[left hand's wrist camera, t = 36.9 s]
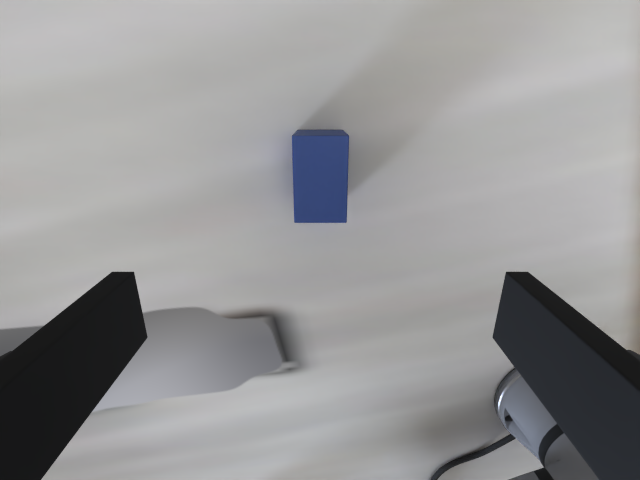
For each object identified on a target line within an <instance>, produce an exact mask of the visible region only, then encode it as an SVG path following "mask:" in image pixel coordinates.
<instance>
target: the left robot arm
mask: <svg viewBox="0 0 640 480" xmlns="http://www.w3.org/2000/svg"><path fill="white" fill-rule="evenodd" d="M146 339H147V333H146V328H145V323H144V318H143V314H142V309H141V304H140V299H139V294H138V289H137V284H136V280H135V275H134V272H111V273H110V274H109V275H108V276H106V277H105V278H104V279H103V280H101V281H100V282H99V283H98V284H96V285H95V286H94V287H93V288H91V289H90V290H89V291H87V292H86V293H85V294H84V295H82V296H81V297H80V298H79V299H77V300H76V301H75V302H74V303H72V304H71V305H70V306H69V307H67V308H66V309H65V310H64V311H62V312H61V313H60V314H59V315H57V316H56V317H55V318H53V319H52V320H51V321H50V322H48V323H47V324H46V325H45V326H43V327H42V328H41V329H40V330H38V331H37V332H36V333H35V334H33V335H32V336H31V337H30V338H28V339H27V340H26V341H25V342H23V343H22V344H21V345H20V346H18V347H17V348H16V349H14V350H13V351H10V352H8V353H6V354H4V355H2V356H0V480H41V479H42V478H43V476H44V475H45V474H46V472H47V471H48V470H49V468H50V467H51V466H52V464H53V463H54V462H55V460H56V459H57V458H58V456H59V455H60V454H61V452H62V451H63V450H64V448H65V447H66V445H67V444H68V443H69V441H70V440H71V439H72V437H73V436H74V435H75V433H76V432H77V431H78V429H79V428H80V427H81V425H82V424H83V423H84V421H85V420H86V419H87V417H88V416H89V415H90V413H91V412H92V411H93V409H94V408H95V407H96V405H97V404H98V403H99V401H100V400H101V399H102V397H103V396H104V395H105V393H106V392H107V391H108V389H109V388H110V387H111V385H112V384H113V383H114V381H115V380H116V379H117V377H118V376H119V375H120V373H121V372H122V371H123V369H124V368H125V367H126V365H127V364H128V363H129V361H130V360H131V359H132V357H133V356H134V355H135V353H136V352H137V351H138V349H139V348H140V347H141V345H142V344H143V343H144V341H145V340H146ZM493 339H494V340H495V341H496V343H497V344H498V345H499V347H500V348H501V349H502V351H503V352H504V353H505V355H506V356H507V357H508V359H509V360H510V361H511V363H512V364H513V365H514V367H515V369H514V370H512V371H511V372H510V373H509V374H508V375H507V376H506V377H505V378H504V379H503V381H502V382H501V383H500V385H499V387H498V389H497V391H496V395H495V401H494V404H495V410H496V413H497V415H498V417H499V418H500V420H501V422H502V424H503V425H504V427H505V428H506V429H507V430H508V431H509V432H510V433H511V434H510V435H508V436H506V437H505V438H503V439H501V440H499V441H497V442H496V443H494V444H492V445H490V446H488V447H486V448H484V449H482V450H480V451H478V452H475V453H472V454H470V455H467V456H464V457H461V458H458V459H455V460H453V461H451V462H449V463H447V464H445V465H444V466H442V467H441V468H440V469H439V470H438V471H437V472H436V473H435V474H434V475H433V477H432V479H431V480H437V479H438V478H439V477H440V476H441V475H442V474H443V473H444V472H445V471H447V470H448V469H450V468H452V467H454V466H456V465H458V464H461V463H464V462H467V461H470V460H473V459H476V458H478V457H481V456H483V455H485V454H488V453H490V452H492V451H494V450H495V449H497V448H499V447H501V446H503V445H505V444H507V443H508V442H510V441H512V440H514V439H515V438H516V439H517V440H518V441H520V442H521V443H522V444H523V445H524V446H525V447H526V448H527V449H528V450H529V451H531V452H532V453H533V454H534V455H535V456H536V457H537V458H538V459H539V460H540V462H541V463H542V465H543V466H544V468H541V469H539V470H536V471H532V472H529V473H526V474H523V475H520V476H518V477H515V478H512V479H509V480H640V355H639V354H637V353H635V352H633V351H631V350H626V349H624V348H623V347H622V346H621V345H619V344H618V343H617V342H615V341H614V340H613V339H612V338H610V337H609V336H608V335H607V334H605V333H604V332H603V331H602V330H600V329H599V328H598V327H597V326H595V325H594V324H593V323H592V322H590V321H589V320H588V319H587V318H585V317H584V316H583V315H581V314H580V313H579V312H578V311H576V310H575V309H574V308H573V307H571V306H570V305H569V304H568V303H566V302H565V301H564V300H563V299H561V298H560V297H559V296H558V295H556V294H555V293H554V292H553V291H551V290H550V289H549V288H547V287H546V286H545V285H544V284H542V283H541V282H540V281H539V280H537V279H536V278H535V277H534V276H532V275H531V274H530V273H529V272H506V275H505V280H504V284H503V289H502V294H501V299H500V304H499V309H498V314H497V318H496V323H495V328H494V333H493Z"/></svg>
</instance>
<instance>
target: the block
mask: <svg viewBox="0 0 640 480" xmlns="http://www.w3.org/2000/svg"><path fill="white" fill-rule="evenodd" d="M292 151H293V188H294V222H295V223H346V222H347V188H348V152H349V135H348V134H346V133H345V132H344V131H343V130H297V131H296V132H295V133H294V134H293V135H292Z"/></svg>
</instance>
